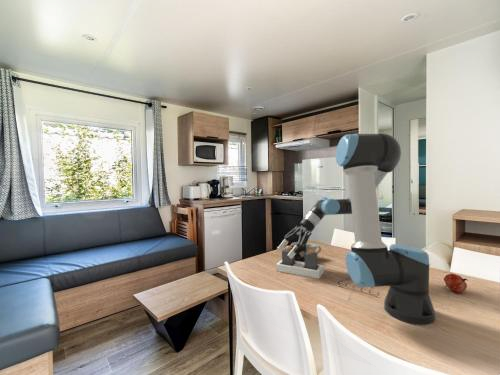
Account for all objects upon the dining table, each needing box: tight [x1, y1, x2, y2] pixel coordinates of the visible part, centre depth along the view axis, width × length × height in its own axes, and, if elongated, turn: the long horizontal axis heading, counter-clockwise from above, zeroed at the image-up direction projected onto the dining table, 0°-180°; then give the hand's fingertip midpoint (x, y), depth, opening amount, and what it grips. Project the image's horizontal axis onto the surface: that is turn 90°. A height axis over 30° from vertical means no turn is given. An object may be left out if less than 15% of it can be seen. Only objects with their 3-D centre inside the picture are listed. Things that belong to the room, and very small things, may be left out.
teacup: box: [306, 243, 322, 255], centre depth 148 cm, size 14×11×8 cm
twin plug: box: [304, 249, 319, 270], centre depth 124 cm, size 5×5×12 cm
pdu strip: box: [275, 259, 325, 280], centre depth 128 cm, size 9×22×4 cm, turn 60°
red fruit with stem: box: [443, 273, 468, 294], centre depth 104 cm, size 7×7×10 cm
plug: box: [281, 245, 295, 266], centre depth 131 cm, size 5×5×12 cm
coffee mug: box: [290, 241, 308, 262], centre depth 144 cm, size 12×9×10 cm
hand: (283, 253), depth 130 cm, fingers open, 13 cm apart
